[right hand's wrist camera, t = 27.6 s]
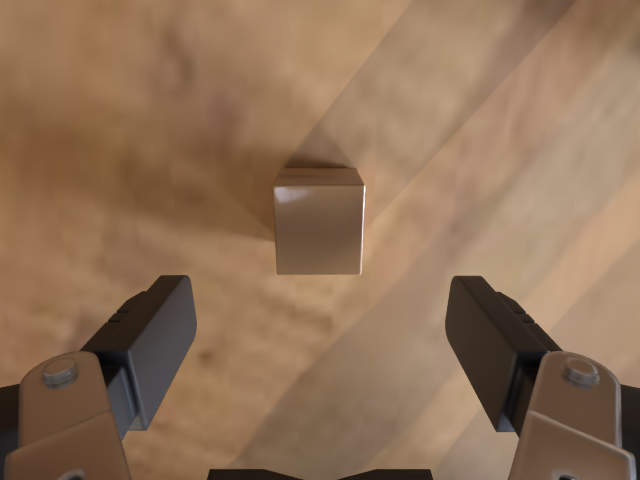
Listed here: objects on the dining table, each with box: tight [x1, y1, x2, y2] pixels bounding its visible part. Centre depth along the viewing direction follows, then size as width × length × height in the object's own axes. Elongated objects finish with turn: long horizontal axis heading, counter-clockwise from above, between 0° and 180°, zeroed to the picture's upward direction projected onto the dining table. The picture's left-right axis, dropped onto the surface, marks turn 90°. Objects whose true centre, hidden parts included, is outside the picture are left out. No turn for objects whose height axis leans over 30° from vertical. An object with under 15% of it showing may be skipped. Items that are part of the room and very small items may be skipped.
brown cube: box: [272, 168, 365, 275], centre depth 19 cm, size 4×4×4 cm
